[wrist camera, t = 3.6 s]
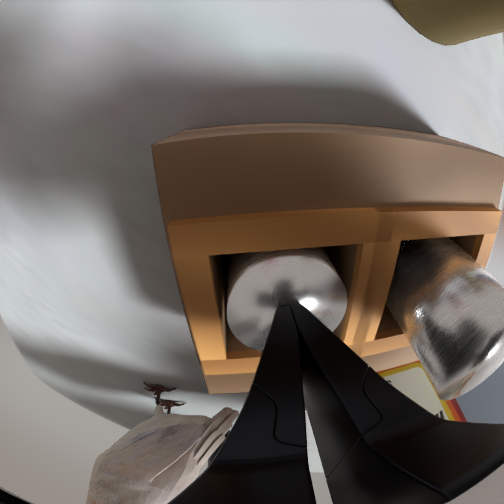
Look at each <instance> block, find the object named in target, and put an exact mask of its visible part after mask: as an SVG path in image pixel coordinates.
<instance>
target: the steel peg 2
mask: <svg viewBox="0 0 504 504" xmlns="http://www.w3.org/2000/svg"><path fill="white" fill-rule="evenodd" d="M386 305H387V307H388V308H389V310H390V312H391V313H392V315H393V316H394V318H395V320H396V321H397V323H398V325H399V326H400V328H401V329H402V331H403V333H404V334H405V336H406V338H407V339H408V341H409V343H410V345H411V346H412V348H413V350H414V351H415V353H416V355H417V357H418V359H419V360H420V362H421V364H422V366H423V368H424V369H425V371H426V373H427V375H428V377H429V379H430V380H431V382H432V384H433V386H434V388H435V390H436V392H437V394H438V396H439V398H440V399H441V400H451V399H454V398H457V397H459V396H461V395H463V394H465V393H467V392H468V391H470V390H471V389H473V388H474V387H475V386H477V385H479V384H480V383H481V382H482V381H484V380H485V379H486V378H487V377H488V376H489V375H490V374H492V373H493V372H494V371H495V370H496V369H497V368H498V367H499V366H500V365H501V364H502V363H503V361H504V287H503V286H502V285H501V284H500V283H499V282H498V281H497V280H496V279H495V278H494V277H493V276H492V275H491V274H490V273H489V272H488V271H487V270H485V269H484V268H483V267H482V266H481V265H480V264H479V263H478V262H477V261H476V260H475V259H473V258H472V257H471V256H470V255H469V254H468V253H467V252H465V251H464V250H463V249H462V248H461V247H460V246H458V245H457V244H456V243H455V242H454V241H452V240H451V239H450V238H449V237H441V238H428V239H416V240H415V241H413V242H412V243H411V244H409V245H408V246H407V247H406V248H405V249H404V250H403V251H402V252H401V253H400V254H399V255H398V257H397V261H396V265H395V270H394V274H393V278H392V282H391V285H390V289H389V293H388V296H387V300H386Z"/></svg>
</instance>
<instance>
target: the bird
mask: <svg viewBox="0 0 504 504" xmlns="http://www.w3.org/2000/svg"><path fill="white" fill-rule="evenodd" d="M143 382H144V381H143ZM144 384H145V385H147V386H148V387H149V388H151V389H147V388H145V387H144V388H145V389H146V390H148V391H156V392H155V393H154V395H157V397H156V398H155V397H154V398H155V399H156V402H155V403H156V404H157V406H156V409H155V413H154V415H153V417H151V418H149V419H146V420H144V421H142V422H141V423H139V424H137V425H136V426H135V427H133V428H132V429H131V430H130V431H129V432H128V433H127V434H125V435H124V436H123V437H122V438H120V439H119V440H118V441H117V442H116V443H114V444H113V445H112V446H111V447H110V448H109V449H107V450H106V451H104V452H103V453H102V454H101V455H99V456H98V458H97V459H96V461H95V464H94V467H93V471H92V475H91V479H90V484H89V490H88V495H87V501H86V504H167V503H168V502H170V501H171V500H172V499H173V498H175V497H176V496H177V495H178V494H179V493H181V492H182V491H183V490H184V489H185V488H187V487H188V486H189V485H190V484H191V483H192V482H193V481H194V480H195V479H196V477H197V476H198V474H199V472H200V469H201V466H202V465H203V464H204V463H205V462H206V461H207V460H208V458H209V457H210V456H211V455H212V454H213V452H214V451H215V450H216V449H217V448H218V447H219V445H220V444H221V443H222V442H223V440H224V439H225V436H224V435H225V434H226V433H227V432H228V431H229V429H230V428H231V427H232V423H233V421H234V420H235V419H236V418H237V416H238V415H239V412H238V411H237V410H236V411H235V410H232V409H231V408H228V407H226V408H224V409H222V410H221V411H220V412H219V413H217V414H216V415H215V416H214V417H213V418H209V417H207V416H204V415H179V414H170V410H171V407H173V406H181V405H184V404H185V403H183V404H177V403H175V402H173V401H160V400H159V398H160V394H161V392H164V391H166V392H170V391H172V390H174V389H176V388H177V387H176V388H173V389H168V388H165V387H163V386H161V385H155V386H153V385H148V384H146V383H145V382H144ZM160 403H162V404H160ZM162 406H166V407H165V408H164V409H168V411H167V413H164V412H163V407H162Z"/></svg>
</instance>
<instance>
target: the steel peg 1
mask: <svg viewBox="0 0 504 504" xmlns="http://www.w3.org/2000/svg"><path fill="white" fill-rule="evenodd" d="M296 304H302V305H304V306H305V307H306V308H307V309H308V310H309V311H310V312H312V313H313V314H314V315H315V316H316V317H317V318H318V319H319V320H320V321H321V322H322V323H323V324H325V325H326V326H327V327H328V328H329V329H330V330H331V331H332V332H333V331H334V330H335V329H336V328H337V326H338V325H339V324H340V322H341V321H342V319H343V317H344V314H345V312H346V308H347V292H346V289H345V286H344V284H343V282H342V280H341V279H340V277H339V275H338V273H337V271H336V270H335V268H334V266H333V264H332V262H331V261H330V259H329V257H328V255H327V254H326V252H325V250H324V249H323V247H312V248H299V249H286V250H274V251H261V252H248V253H235V254H228V275H227V321H228V325H229V327H230V329H231V331H232V333H233V334H234V336H235V337H236V338H237V339H238V340H239V341H241V342H242V343H243V344H245V345H246V346H248V347H250V348H252V349H255V350H258V351H261V352H262V351H263V348H264V345H265V342H266V339H267V336H268V333H269V330H270V326H271V323H272V320H273V317H274V314H275V310H276V308H277V307H278V306H287V305H288V306H289V307H290V306H291V305H296Z"/></svg>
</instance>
